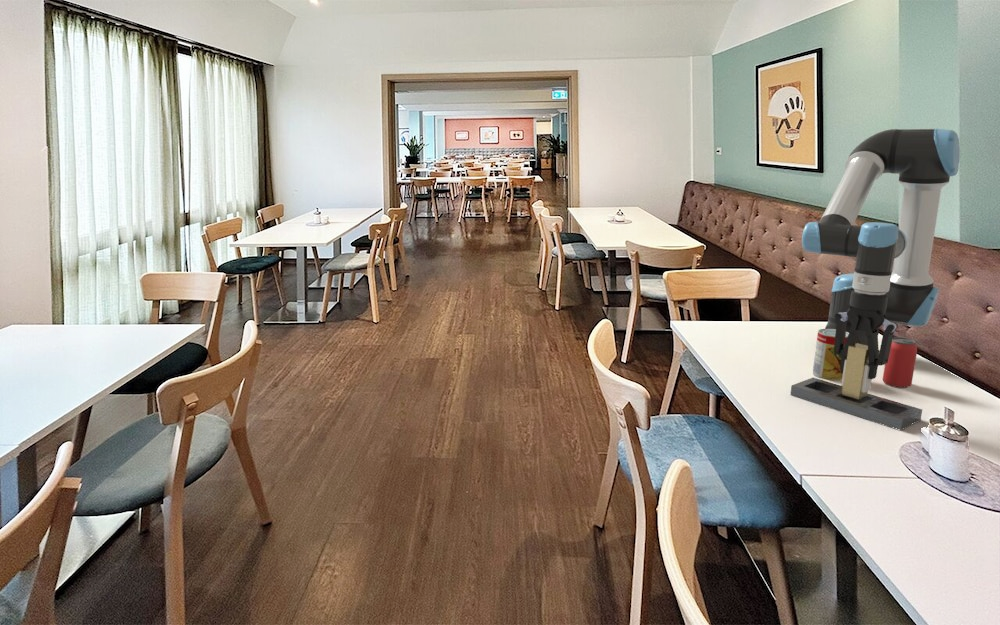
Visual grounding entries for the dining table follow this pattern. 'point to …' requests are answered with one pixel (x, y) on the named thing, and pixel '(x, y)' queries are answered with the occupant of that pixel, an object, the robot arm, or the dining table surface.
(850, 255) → the robot arm
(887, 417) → the grey slotted tray
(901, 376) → the beer can
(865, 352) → the wooden block
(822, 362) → the canned food
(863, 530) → the dining table surface
